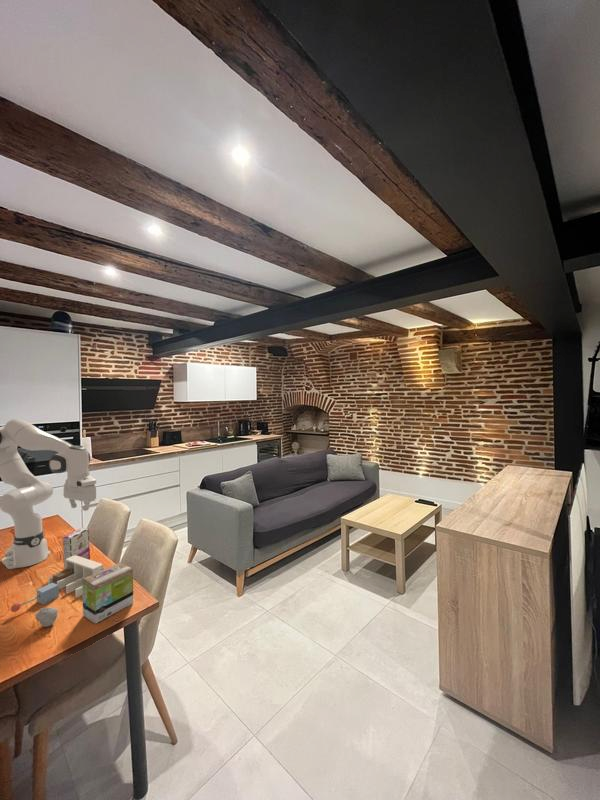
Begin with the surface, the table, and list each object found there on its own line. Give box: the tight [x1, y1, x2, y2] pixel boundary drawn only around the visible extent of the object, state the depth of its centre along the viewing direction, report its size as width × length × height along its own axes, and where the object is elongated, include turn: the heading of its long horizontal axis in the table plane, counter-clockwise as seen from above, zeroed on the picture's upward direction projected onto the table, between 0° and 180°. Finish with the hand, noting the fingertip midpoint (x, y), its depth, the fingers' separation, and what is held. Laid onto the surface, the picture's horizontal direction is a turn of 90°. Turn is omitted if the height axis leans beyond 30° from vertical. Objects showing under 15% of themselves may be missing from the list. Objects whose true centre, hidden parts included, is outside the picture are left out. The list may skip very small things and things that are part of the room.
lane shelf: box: [47, 555, 104, 599], centre depth 153 cm, size 21×12×9 cm, turn 63°
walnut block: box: [52, 569, 73, 584], centre depth 155 cm, size 4×6×5 cm
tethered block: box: [10, 583, 60, 613], centre depth 139 cm, size 4×16×5 cm, turn 153°
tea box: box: [82, 562, 134, 624], centre depth 135 cm, size 15×10×15 cm, turn 148°
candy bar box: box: [62, 527, 91, 570], centre depth 171 cm, size 11×5×16 cm, turn 168°
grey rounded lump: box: [34, 606, 59, 628], centre depth 126 cm, size 6×7×7 cm
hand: (79, 508), depth 162 cm, fingers open, 8 cm apart
